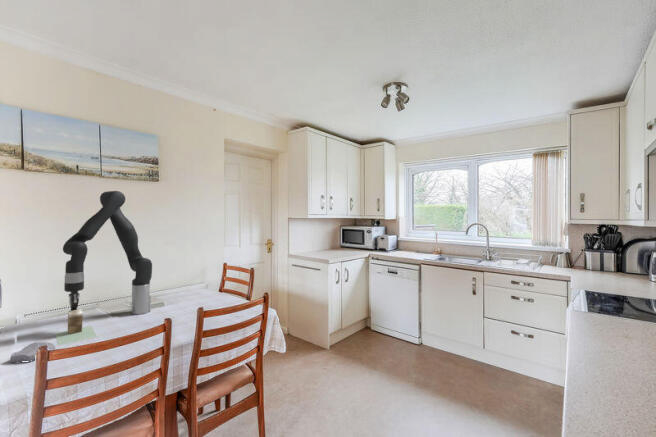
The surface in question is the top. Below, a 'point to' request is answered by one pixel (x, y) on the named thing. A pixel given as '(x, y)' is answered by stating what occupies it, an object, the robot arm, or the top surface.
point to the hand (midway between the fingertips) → (73, 314)
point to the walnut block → (75, 321)
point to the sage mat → (75, 335)
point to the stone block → (29, 352)
